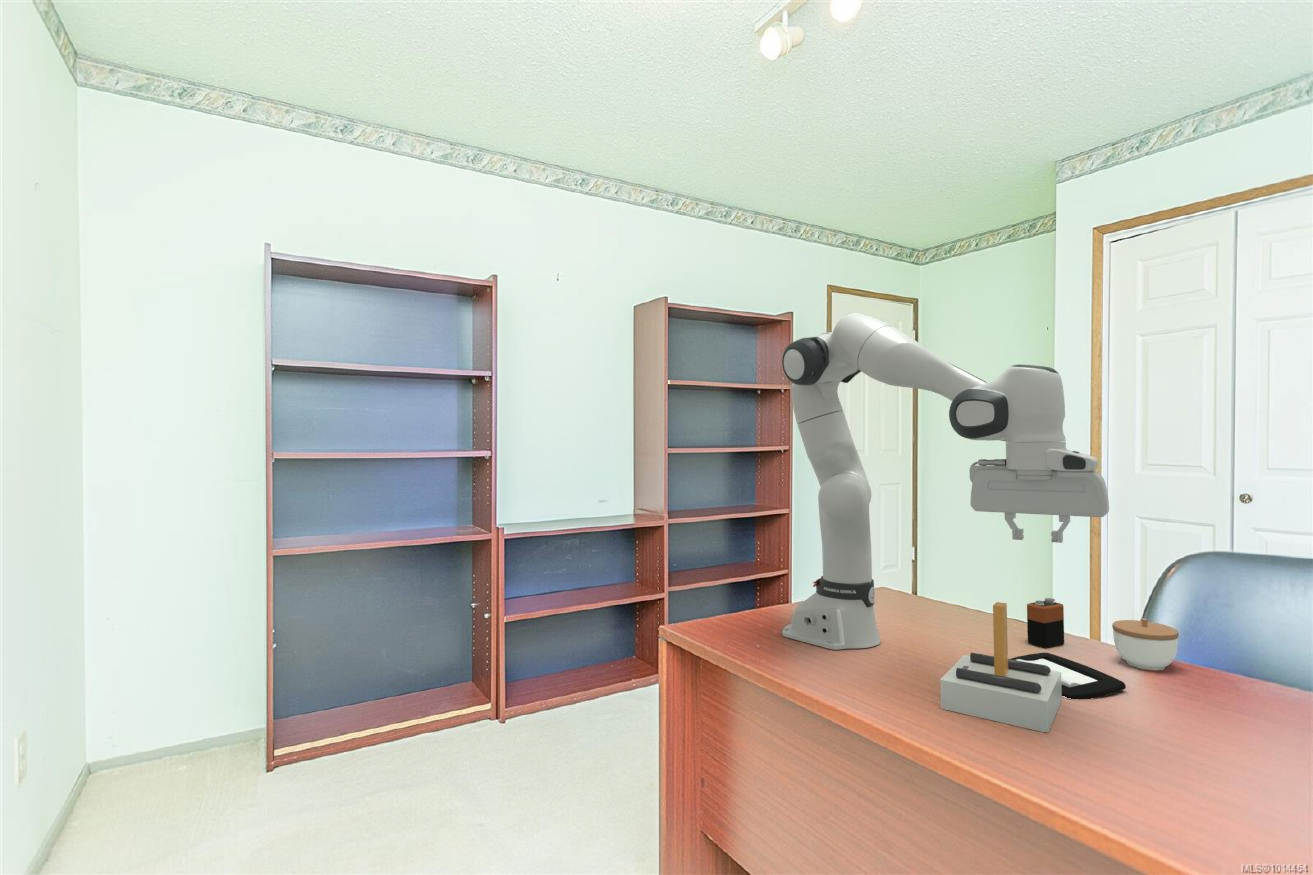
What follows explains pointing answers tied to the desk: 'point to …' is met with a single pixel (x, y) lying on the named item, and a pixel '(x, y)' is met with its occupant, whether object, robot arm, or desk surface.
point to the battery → (1045, 623)
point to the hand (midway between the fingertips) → (1037, 540)
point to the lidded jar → (1145, 643)
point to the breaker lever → (1000, 639)
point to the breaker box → (1003, 692)
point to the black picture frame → (1077, 677)
